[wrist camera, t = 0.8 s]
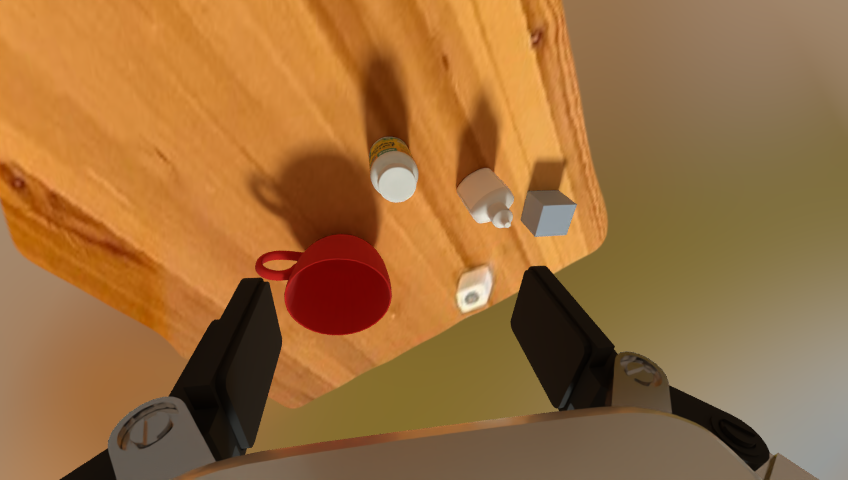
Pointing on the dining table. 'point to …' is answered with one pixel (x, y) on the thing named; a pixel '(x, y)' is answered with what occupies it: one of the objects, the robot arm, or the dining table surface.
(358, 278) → the ceramic cup
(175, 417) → the robot arm
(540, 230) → the slate block
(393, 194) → the supplement bottle
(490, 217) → the eye dropper bottle
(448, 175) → the dining table surface
